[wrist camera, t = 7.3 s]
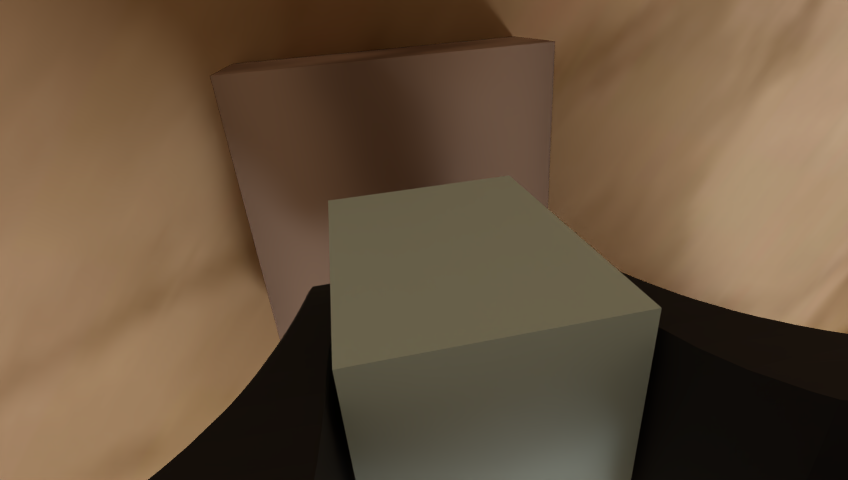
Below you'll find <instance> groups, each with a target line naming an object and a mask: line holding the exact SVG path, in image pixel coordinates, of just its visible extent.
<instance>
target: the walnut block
mask: <svg viewBox="0 0 848 480" xmlns="http://www.w3.org/2000/svg"><path fill="white" fill-rule="evenodd" d="M554 53H555V41H547V40H538V39H530V38H521V37H504V38H494V39H484V40H474V41H463V42H453V43H443V44H433V45H422V46H412V47H402V48H392V49H381V50H371V51H361V52H350V53H340V54H330V55H320V56H309V57H299V58H289V59H279V60H268V61H258V62H248V63H238V64H231V65H229V66H228V67H226V68H224V69H222V70H220V71H218V72H216V73H215V74H213V75H211V76H210V78H211V82H212V85H213V89H214V93H215V97H216V101H217V104H218V108H219V112H220V116H221V119H222V123H223V127H224V131H225V134H226V138H227V142H228V146H229V149H230V153H231V157H232V161H233V165H234V168H235V172H236V176H237V180H238V183H239V187H240V191H241V195H242V198H243V202H244V206H245V210H246V213H247V217H248V221H249V225H250V229H251V232H252V236H253V240H254V244H255V247H256V251H257V255H258V259H259V262H260V266H261V270H262V274H263V277H264V281H265V285H266V289H267V293H268V296H269V300H270V304H271V308H272V311H273V315H274V319H275V323H276V326H277V330H278V334H279V338H280V341H281V339H282V337H283V336H284V334H285V333H286V331H287V330H288V328H289V326H290V325H291V323H292V322H293V320H294V318H295V316H296V315H297V313H298V311H299V309H300V307H301V306H302V304H303V302H304V300H305V298H306V296H307V294H308V292H309V291H310V289H311V288H312V287H313V286H319V285H325V284H330V256H329V214H328V201H329V200H336V199H343V198H351V197H358V196H365V195H372V194H379V193H387V192H394V191H401V190H408V189H415V188H422V187H430V186H437V185H444V184H451V183H458V182H466V181H473V180H480V179H487V178H494V177H501V176H511V177H512V178H513V179H514V180H515V181H516V182H517V183H519V184H520V185H521V186H522V187H523V188H524V189H526V190H527V191H528V192H529V193H530V194H531V195H532V196H534V197H535V198H536V199H537V200H538V201H539V202H540V203H542V204H543V205H544V206H545V207H546V208H547V209H548V192H549V168H550V145H551V122H552V99H553V76H554Z"/></svg>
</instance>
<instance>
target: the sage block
mask: <svg viewBox="0 0 848 480" xmlns="http://www.w3.org/2000/svg"><path fill="white" fill-rule="evenodd" d="M328 214H329V256H330V298H331V340H332V371H333V376H334V381H335V385H336V390H337V395H338V400H339V404H340V409H341V414H342V418H343V423H344V428H345V433H346V437H347V442H348V447H349V451H350V456H351V461H352V466H353V470H354V475H355V480H631V477H632V471H633V466H634V460H635V455H636V449H637V443H638V438H639V432H640V427H641V421H642V415H643V410H644V404H645V398H646V393H647V387H648V382H649V376H650V370H651V365H652V359H653V354H654V348H655V342H656V337H657V331H658V325H659V320H660V314H661V309H662V308H661V307H660V306H659V305H658V304H657V303H655V302H654V301H653V300H652V299H651V298H650V297H648V296H647V295H646V294H645V293H644V292H643V291H642V290H640V289H639V288H638V287H637V286H636V285H635V284H634V283H632V282H631V281H630V280H629V279H628V278H627V277H626V276H624V275H623V274H622V273H621V272H620V271H619V270H617V269H616V268H615V267H614V266H613V265H612V264H611V263H609V262H608V261H607V260H606V259H605V258H604V257H603V256H601V255H600V254H599V253H598V252H597V251H596V250H594V249H593V248H592V247H591V246H590V245H589V244H588V243H586V242H585V241H584V240H583V239H582V238H581V237H580V236H578V235H577V234H576V233H575V232H574V231H573V230H571V229H570V228H569V227H568V226H567V225H566V224H565V223H563V222H562V221H561V220H560V219H559V218H558V217H557V216H555V215H554V214H553V213H552V212H551V211H550V210H549V209H547V208H546V207H545V206H544V205H543V204H542V203H540V202H539V201H538V200H537V199H536V198H535V197H534V196H532V195H531V194H530V193H529V192H528V191H527V190H526V189H524V188H523V187H522V186H521V185H520V184H519V183H517V182H516V181H515V180H514V179H513V178H512V177H511V176H501V177H494V178H487V179H480V180H473V181H466V182H458V183H451V184H444V185H437V186H430V187H422V188H415V189H408V190H401V191H394V192H387V193H379V194H372V195H365V196H358V197H351V198H343V199H336V200H329V201H328Z"/></svg>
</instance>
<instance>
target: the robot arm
mask: <svg viewBox="0 0 848 480" xmlns="http://www.w3.org/2000/svg"><path fill="white" fill-rule="evenodd" d="M621 273H622V272H621ZM622 274H623V275H624V276H626V277H627V278H628V279H629V280H630V281H631V282H632V283H634V284H635V285H636V286H637V287H638V288H639V289H640V290H642V291H643V292H644V293H645V294H646V295H647V296H648V297H650V298H651V299H652V300H653V301H654V302H655V303H657V304H658V305H659V306H660V307H661V308H662V309H661V314H660V320H659V325H658V331H657V337H656V342H655V348H654V354H653V359H652V365H651V370H650V376H649V382H648V387H647V393H646V398H645V404H644V410H643V415H642V421H641V427H640V432H639V438H638V443H637V449H636V455H635V460H634V466H633V471H632V477H631V480H848V334H845V333H838V332H832V331H826V330H820V329H815V328H809V327H804V326H798V325H793V324H789V323H784V322H780V321H775V320H770V319H766V318H761V317H757V316H753V315H749V314H745V313H741V312H737V311H733V310H729V309H726V308H722V307H719V306H715V305H712V304H708V303H705V302H701V301H698V300H695V299H692V298H689V297H686V296H683V295H680V294H677V293H674V292H671V291H669V290H666V289H663V288H660V287H658V286H655V285H652V284H649V283H647V282H644V281H642V280H639V279H637V278H634V277H632V276H629V275H627V274H624V273H622ZM148 480H355V475H354V470H353V466H352V461H351V456H350V451H349V447H348V442H347V437H346V433H345V428H344V423H343V418H342V414H341V409H340V404H339V400H338V395H337V390H336V385H335V381H334V376H333V371H332V340H331V298H330V284H325V285H319V286H313V287H312V288H311V289H310V291H309V292H308V294H307V296H306V298H305V300H304V302H303V304H302V306H301V307H300V309H299V311H298V313H297V315H296V316H295V318H294V320H293V322H292V323H291V325H290V326H289V328H288V330H287V331H286V333H285V334H284V336H283V337H282V339H281V341H280V342H279V344H278V345H277V347H276V348H275V350H274V351H273V352H272V354H271V355H270V356H269V358H268V359H267V361H266V362H265V363H264V365H263V366H262V367H261V369H260V370H259V372H258V373H257V374H256V375H255V377H254V378H253V379H252V380H251V382H250V383H249V384H248V385H247V387H246V388H245V389H244V390H243V391H242V392H241V394H240V395H239V396H238V397H237V398H236V399H235V400H234V401H233V403H232V404H231V405H230V406H229V407H228V408H227V409H226V410H225V411H224V412H223V413H222V414H221V415H220V416H219V417H218V418H217V419H216V420H215V421H214V422H213V423H212V424H211V425H210V426H208V427H207V428H206V429H205V430H204V431H203V432H202V433H201V434H200V435H199V436H198V437H197V438H196V439H195V440H194V441H193V442H192V443H191V444H190V445H189V446H188V447H186V448H185V449H184V450H183V451H182V452H181V453H180V454H178V455H177V456H176V457H175V458H174V459H173V460H171V461H170V462H169V463H168V464H167V465H166V466H164V467H163V468H162V469H161V470H160V471H158V472H157V473H156V474H155V475H153V476H152V477H151V478H150V479H148Z"/></svg>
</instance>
